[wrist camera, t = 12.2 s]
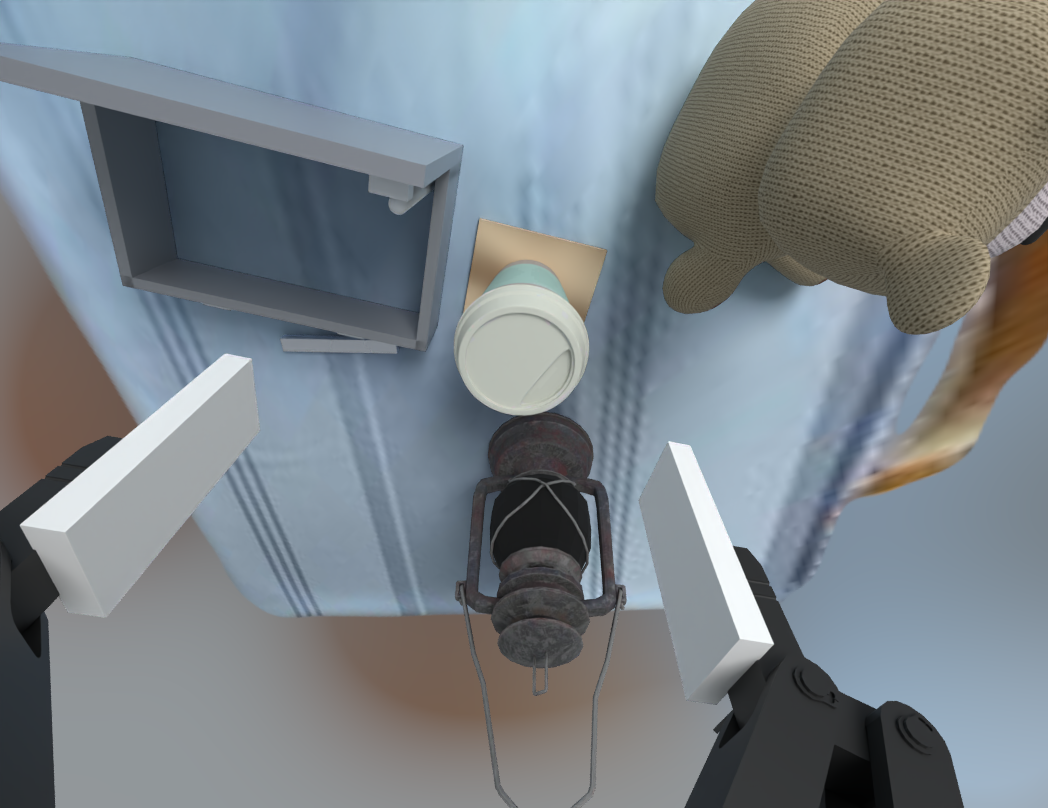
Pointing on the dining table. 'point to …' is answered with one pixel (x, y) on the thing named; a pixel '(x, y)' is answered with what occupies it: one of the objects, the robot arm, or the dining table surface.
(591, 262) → the cork pad
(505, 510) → the lantern
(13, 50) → the case
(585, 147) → the dining table surface
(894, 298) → the bear
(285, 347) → the bar
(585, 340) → the coffee cup
